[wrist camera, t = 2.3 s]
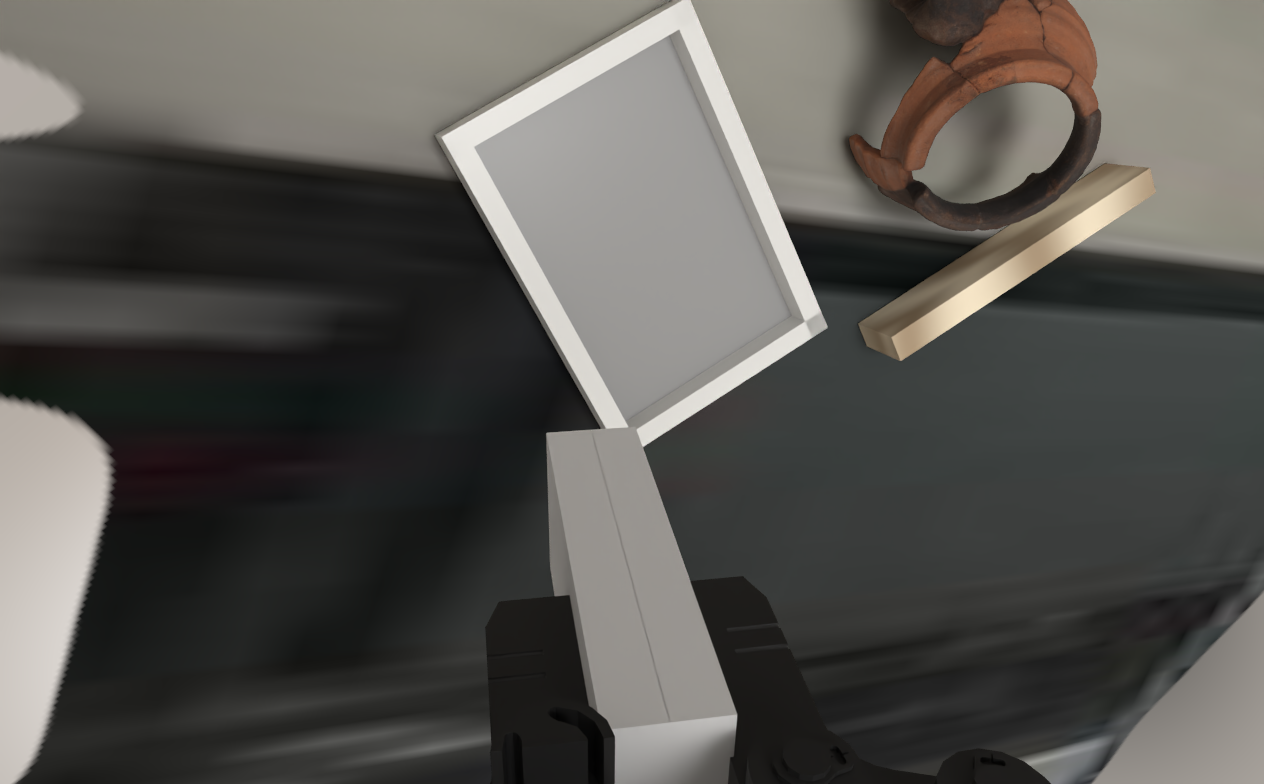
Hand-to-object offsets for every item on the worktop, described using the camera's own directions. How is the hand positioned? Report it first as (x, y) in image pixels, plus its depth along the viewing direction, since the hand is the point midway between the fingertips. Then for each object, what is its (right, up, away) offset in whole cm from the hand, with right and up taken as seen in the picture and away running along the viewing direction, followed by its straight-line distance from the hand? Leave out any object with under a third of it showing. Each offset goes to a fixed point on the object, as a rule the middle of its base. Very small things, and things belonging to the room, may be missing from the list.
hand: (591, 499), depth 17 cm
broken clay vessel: (+13, +15, +23) cm, 31 cm away
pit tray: (+1, +8, +21) cm, 22 cm away
